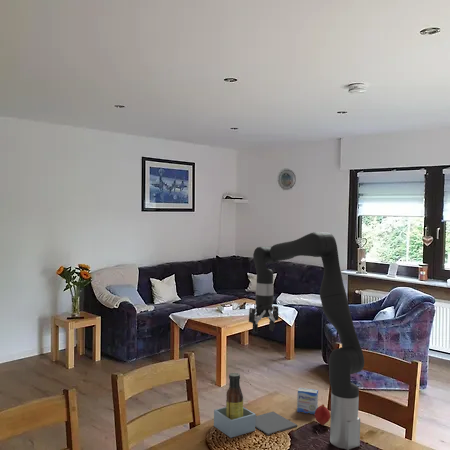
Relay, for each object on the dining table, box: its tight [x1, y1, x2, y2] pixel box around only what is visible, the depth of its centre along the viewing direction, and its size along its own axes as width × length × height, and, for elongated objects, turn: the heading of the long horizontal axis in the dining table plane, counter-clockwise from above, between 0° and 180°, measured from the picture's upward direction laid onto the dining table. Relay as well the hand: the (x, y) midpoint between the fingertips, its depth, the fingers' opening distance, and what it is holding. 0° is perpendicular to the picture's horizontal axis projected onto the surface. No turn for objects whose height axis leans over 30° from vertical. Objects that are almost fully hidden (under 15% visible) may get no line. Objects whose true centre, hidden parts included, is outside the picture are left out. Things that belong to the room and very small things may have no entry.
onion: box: [313, 403, 331, 426], centre depth 177 cm, size 6×6×8 cm
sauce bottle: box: [225, 372, 244, 420], centre depth 172 cm, size 6×6×20 cm
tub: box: [213, 406, 257, 439], centre depth 172 cm, size 11×11×6 cm
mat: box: [255, 411, 298, 436], centre depth 177 cm, size 14×14×1 cm
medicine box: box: [296, 387, 319, 415], centre depth 189 cm, size 8×4×9 cm, turn 73°
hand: (263, 331), depth 200 cm, fingers open, 8 cm apart
